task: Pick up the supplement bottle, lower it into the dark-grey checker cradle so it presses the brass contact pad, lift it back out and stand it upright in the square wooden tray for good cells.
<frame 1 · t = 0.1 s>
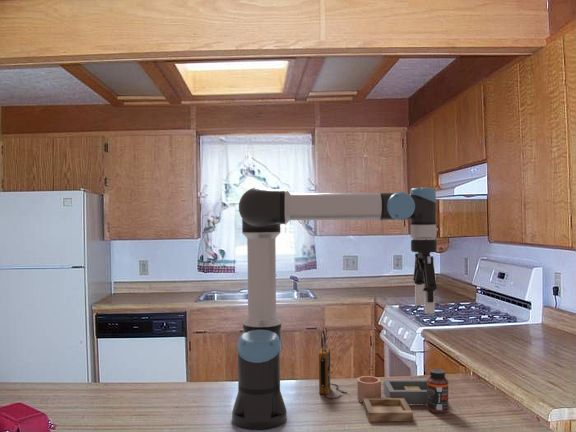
hand: (424, 309, 154), 28 cm above the countertop, fingers open, 13 cm apart
pad: (412, 390, 156), point 3 cm above the countertop, slide at 0.0 cm
multimeter: (336, 392, 163), on the countertop
supplement bottle: (437, 411, 147), on the countertop
cradle: (412, 398, 156), on the countertop
square wooden tray: (387, 413, 145), on the countertop
empty cup: (368, 399, 156), on the countertop
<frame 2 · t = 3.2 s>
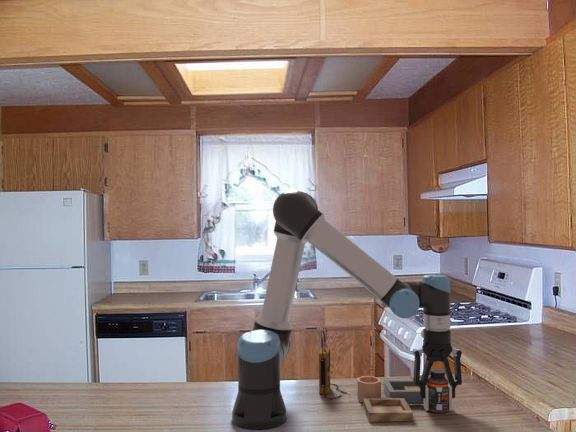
hand: (437, 408, 147), 0 cm above the countertop, fingers closed on supplement bottle, 6 cm apart
supplement bottle: (437, 410, 147), on the countertop, touching gripper
everything else where it was.
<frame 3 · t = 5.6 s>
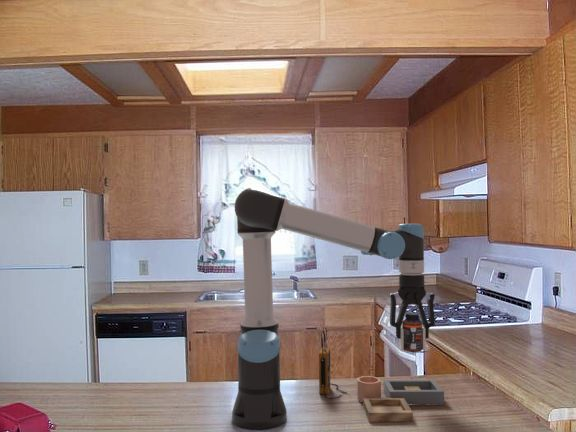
hand: (412, 348, 157), 15 cm above the countertop, fingers closed on supplement bottle, 6 cm apart
supplement bottle: (412, 351, 157), point 15 cm above the countertop, touching gripper
everything else where it was.
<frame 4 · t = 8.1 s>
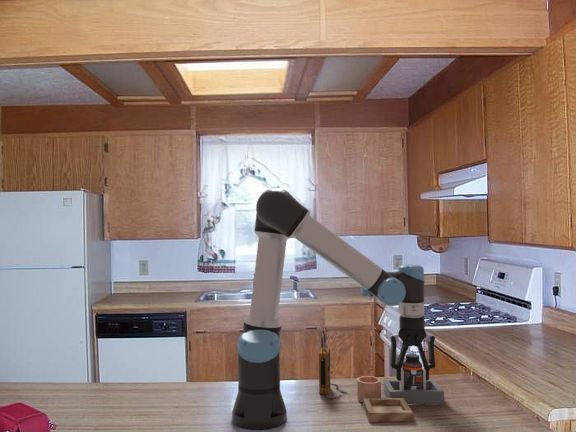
hand: (412, 390, 156), 2 cm above the countertop, fingers closed on supplement bottle, 6 cm apart
pad: (412, 393, 156), point 1 cm above the countertop, slide at -1.0 cm, touching supplement bottle, cradle
supplement bottle: (412, 392, 157), point 2 cm above the countertop, touching gripper, pad
everything else where it was.
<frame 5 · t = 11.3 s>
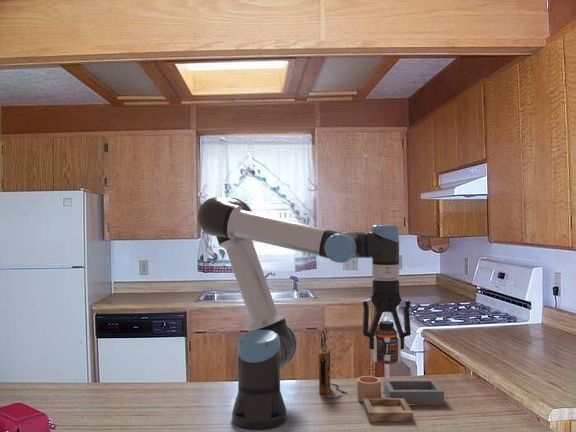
hand: (386, 360, 145), 15 cm above the countertop, fingers closed on supplement bottle, 6 cm apart
pad: (412, 393, 156), point 2 cm above the countertop, slide at -1.0 cm
supplement bottle: (386, 362, 145), point 14 cm above the countertop, touching gripper
everything else where it was.
when the fingers open (3 cm above the countertop, at t = 14.0 s): supplement bottle drops 2 cm, resting on square wooden tray.
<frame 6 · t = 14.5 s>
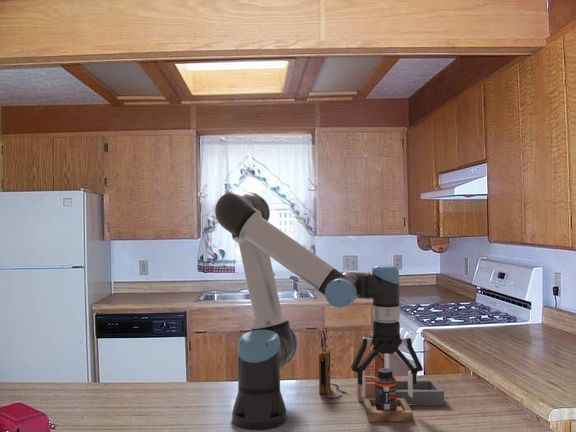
hand: (386, 395, 145), 5 cm above the countertop, fingers open, 13 cm apart
supplement bottle: (386, 410, 145), point 1 cm above the countertop, touching square wooden tray
everything else where it was.
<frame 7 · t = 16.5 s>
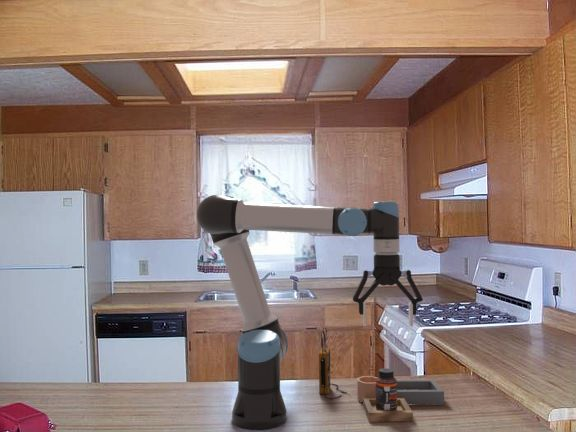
hand: (387, 325, 151), 24 cm above the countertop, fingers open, 13 cm apart
nothing on the countertop moved.
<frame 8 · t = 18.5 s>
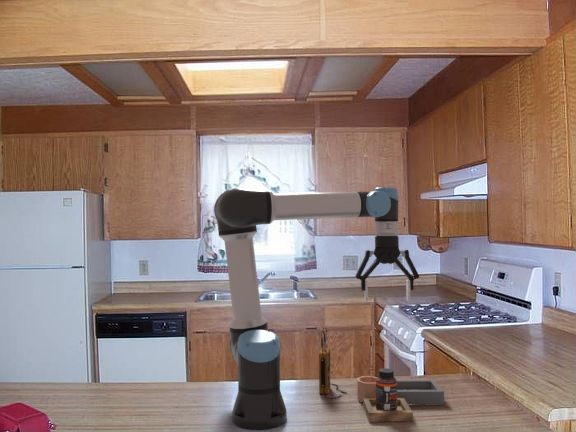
hand: (387, 300, 165), 29 cm above the countertop, fingers open, 13 cm apart
nothing on the countertop moved.
at the end: supplement bottle inside the target area on the square wooden tray (0.2 cm from its centre), point 0.8 cm above the square wooden tray's base; supplement bottle tilted 0°; the gripper is holding nothing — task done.
